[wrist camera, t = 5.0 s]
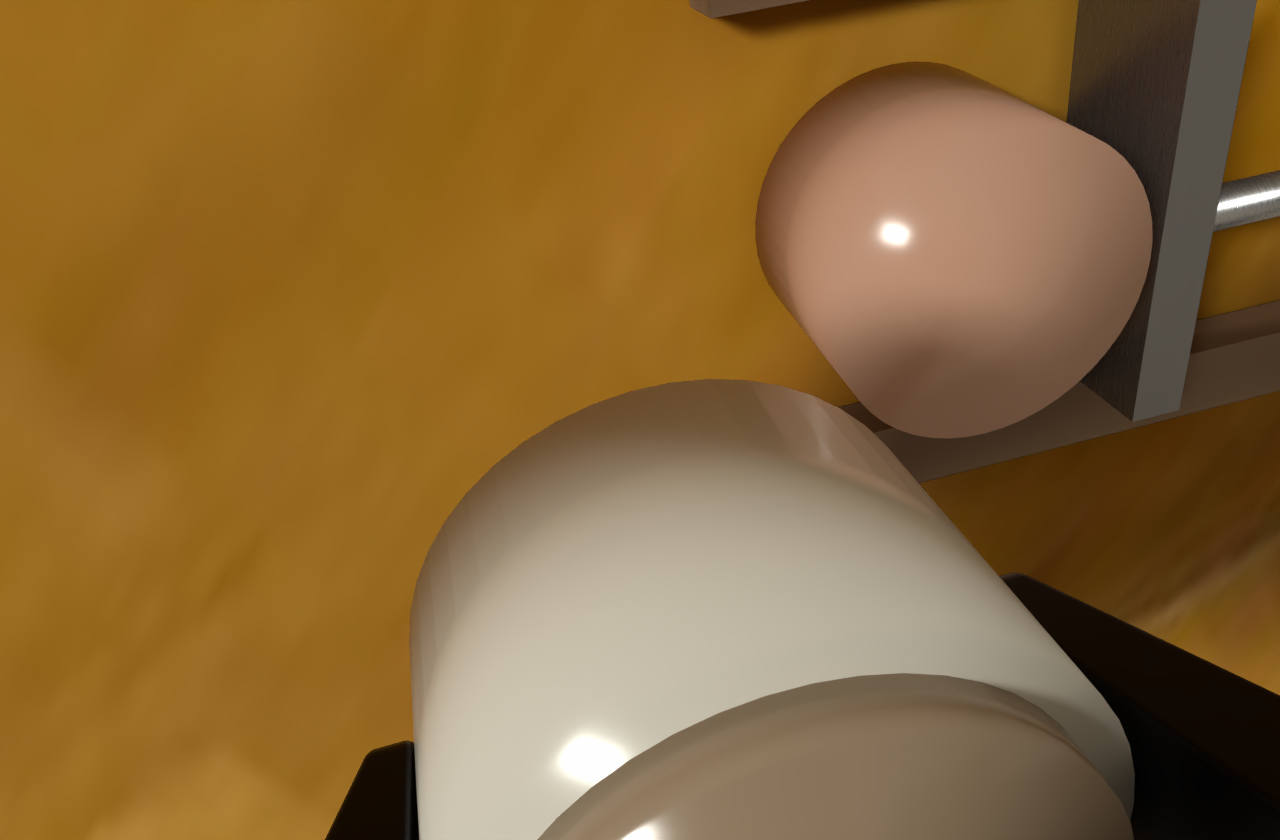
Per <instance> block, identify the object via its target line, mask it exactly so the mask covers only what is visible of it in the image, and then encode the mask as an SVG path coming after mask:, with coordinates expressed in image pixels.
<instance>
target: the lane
mask: <svg viewBox="0 0 1280 840" xmlns="http://www.w3.org/2000/svg"><path fill="white" fill-rule="evenodd" d="M802 1H808V0H690V7H692V8H694V9H695V10H697V11H699V12H701V13H703V14H704V15H706V16H708V17H710V18H716V17H722V16H727V15H732V14H738V13H743V12H748V11H754V10H759V9H765V8H770V7H775V6H781V5H786V4H792V3H797V2H802ZM1277 391H1280V300H1279V301H1275V302H1271V303H1267V304H1263V305H1258V306H1254V307H1250V308H1246V309H1242V310H1238V311H1234V312H1230V313H1225V314H1221V315H1217V316H1213V317H1209V318H1205V319H1201V320H1197V321H1196V324H1195V329H1194V334H1193V339H1192V345H1191V350H1190V355H1189V361H1188V366H1187V371H1186V376H1185V382H1184V387H1183V392H1182V397H1181V403H1180V408H1179V410H1178V411H1174V412H1170V413H1166V414H1162V415H1158V416H1154V417H1150V418H1146V419H1142V420H1138V421H1134V422H1132V421H1130V420H1129V419H1128V418H1127V417H1125V416H1124V415H1123V414H1121V413H1120V412H1119V411H1118V410H1116V409H1115V408H1114V407H1112V406H1111V405H1110V404H1109V403H1107V402H1106V401H1105V400H1103V399H1102V398H1101V397H1100V396H1098V395H1097V394H1096V393H1094V392H1093V391H1092V390H1091V389H1089V388H1088V387H1087V386H1085V385H1084V384H1083V383H1082V382H1080V381H1079V382H1078V383H1077V384H1076V385H1074V386H1073V387H1072V388H1071V389H1069V390H1068V391H1067V392H1066V393H1064V394H1063V395H1062V396H1061V397H1059V398H1058V399H1057V400H1055V401H1053V402H1052V403H1050V404H1049V405H1047V406H1046V407H1044V408H1043V409H1041V410H1040V411H1038V412H1036V413H1034V414H1032V415H1030V416H1028V417H1027V418H1025V419H1023V420H1021V421H1018V422H1016V423H1013V424H1011V425H1009V426H1006V427H1004V428H1001V429H998V430H994V431H991V432H988V433H984V434H979V435H974V436H969V437H961V438H949V439H948V438H929V437H923V436H917V435H913V434H910V433H907V432H904V431H901V430H898V429H896V428H894V427H892V426H890V425H888V424H886V423H884V422H883V421H881V420H880V419H879V418H877V417H876V416H875V415H873V414H872V413H871V412H870V411H869V410H868V409H867V408H866V407H865V406H864V405H863V404H862V403H861V402H859V403H855V404H850V405H846V406H842V407H838V408H840V409H842V410H843V411H845V412H846V413H848V414H849V415H851V416H852V417H853V418H855V419H856V420H858V421H859V422H861V423H862V424H864V425H865V426H866V427H867V428H868V429H869V430H870V431H871V432H873V433H874V434H875V435H876V436H877V437H878V438H879V439H880V440H881V441H882V442H883V443H884V444H885V445H886V446H887V447H888V448H889V450H890V451H891V452H892V453H893V454H894V455H895V456H896V458H897V459H898V460H899V461H900V462H901V463H902V465H903V466H904V467H905V468H906V469H907V470H908V472H909V473H910V474H911V475H912V476H913V477H914V478H915V480H916V481H917V482H918V483H921V482H925V481H929V480H933V479H937V478H941V477H945V476H949V475H952V474H956V473H960V472H964V471H968V470H972V469H976V468H980V467H984V466H988V465H991V464H995V463H999V462H1003V461H1007V460H1011V459H1015V458H1019V457H1023V456H1027V455H1031V454H1034V453H1038V452H1042V451H1046V450H1050V449H1054V448H1058V447H1062V446H1066V445H1070V444H1074V443H1077V442H1081V441H1085V440H1089V439H1093V438H1097V437H1101V436H1105V435H1109V434H1113V433H1117V432H1120V431H1124V430H1128V429H1132V428H1136V427H1140V426H1144V425H1148V424H1152V423H1156V422H1159V421H1163V420H1167V419H1171V418H1175V417H1179V416H1183V415H1187V414H1191V413H1195V412H1199V411H1202V410H1206V409H1210V408H1214V407H1218V406H1222V405H1226V404H1230V403H1234V402H1238V401H1242V400H1245V399H1249V398H1253V397H1257V396H1261V395H1265V394H1269V393H1273V392H1277Z"/></svg>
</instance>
